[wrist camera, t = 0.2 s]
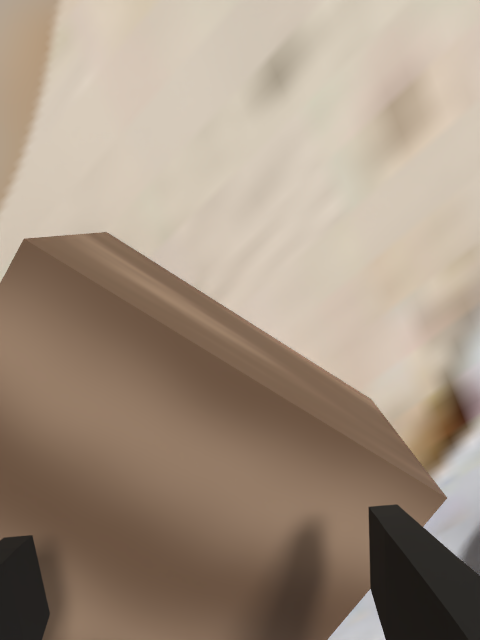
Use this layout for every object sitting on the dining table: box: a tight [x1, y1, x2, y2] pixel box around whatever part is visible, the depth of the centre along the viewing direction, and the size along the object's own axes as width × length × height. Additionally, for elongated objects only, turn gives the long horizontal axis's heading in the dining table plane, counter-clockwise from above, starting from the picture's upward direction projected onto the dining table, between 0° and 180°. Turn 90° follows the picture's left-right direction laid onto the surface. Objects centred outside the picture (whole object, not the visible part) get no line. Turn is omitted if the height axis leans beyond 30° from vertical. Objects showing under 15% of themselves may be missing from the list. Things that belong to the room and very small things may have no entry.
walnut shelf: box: [0, 232, 447, 640], centre depth 17 cm, size 20×13×7 cm
